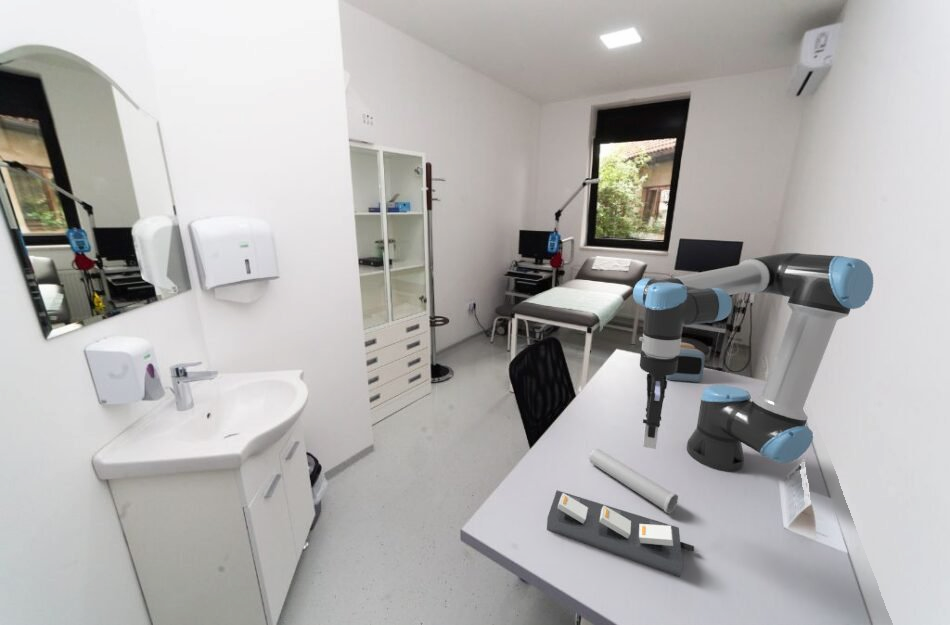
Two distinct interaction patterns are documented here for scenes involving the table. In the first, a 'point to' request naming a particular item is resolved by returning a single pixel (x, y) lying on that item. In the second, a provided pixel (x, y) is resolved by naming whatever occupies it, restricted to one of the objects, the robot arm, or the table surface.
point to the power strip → (617, 536)
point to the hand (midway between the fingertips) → (649, 445)
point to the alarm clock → (689, 364)
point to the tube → (634, 480)
